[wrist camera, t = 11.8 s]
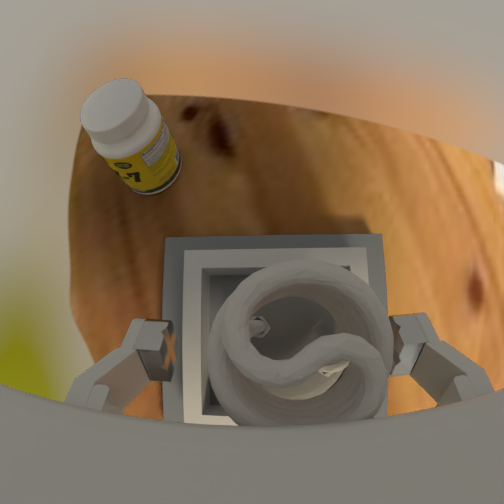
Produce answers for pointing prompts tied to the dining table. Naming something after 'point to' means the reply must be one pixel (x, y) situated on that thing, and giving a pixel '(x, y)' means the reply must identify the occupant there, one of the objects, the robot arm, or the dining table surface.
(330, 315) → the light bulb
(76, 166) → the dining table surface
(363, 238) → the bulb socket
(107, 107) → the supplement bottle
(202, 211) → the dining table surface
